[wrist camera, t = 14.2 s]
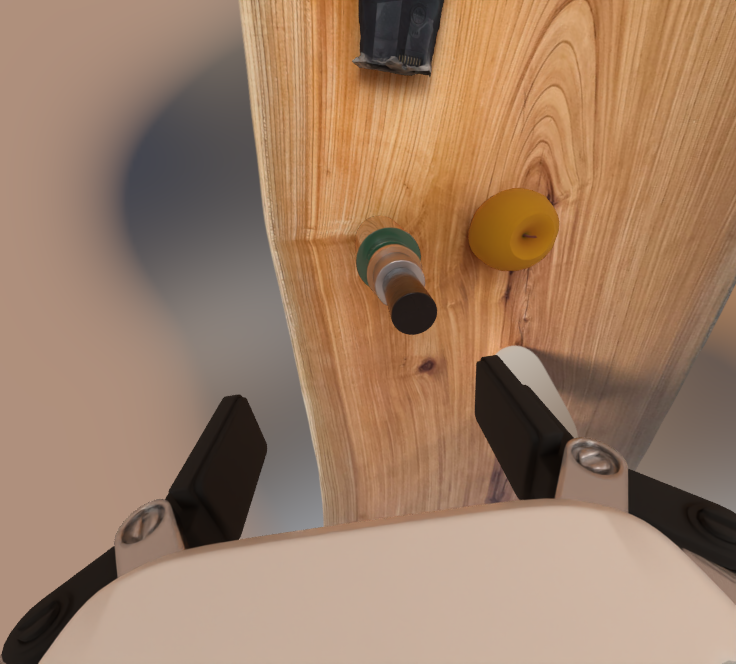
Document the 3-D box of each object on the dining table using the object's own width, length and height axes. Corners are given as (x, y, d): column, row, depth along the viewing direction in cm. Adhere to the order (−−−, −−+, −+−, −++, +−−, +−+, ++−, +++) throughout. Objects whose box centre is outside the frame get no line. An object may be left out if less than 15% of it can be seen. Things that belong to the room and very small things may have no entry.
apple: (531, 238, 43) (589, 256, 32) (470, 271, 44) (507, 298, 34) (512, 173, 39) (572, 169, 28) (446, 212, 40) (479, 222, 30)
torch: (365, 287, 27) (372, 331, 19) (383, 244, 25) (399, 273, 17) (405, 302, 28) (427, 350, 20) (425, 262, 26) (458, 297, 18)
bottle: (347, 255, 42) (346, 295, 27) (365, 207, 40) (375, 222, 24) (390, 272, 44) (411, 319, 29) (411, 227, 41) (446, 253, 26)
